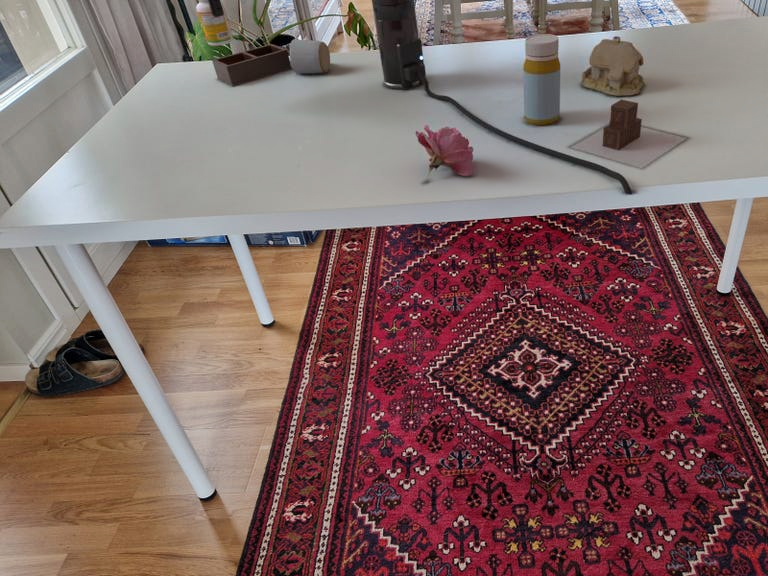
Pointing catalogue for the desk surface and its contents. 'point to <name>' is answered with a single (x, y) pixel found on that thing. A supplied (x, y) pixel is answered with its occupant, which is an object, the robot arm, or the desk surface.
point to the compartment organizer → (252, 64)
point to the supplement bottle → (214, 25)
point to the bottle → (541, 79)
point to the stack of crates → (628, 138)
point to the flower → (447, 149)
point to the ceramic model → (614, 68)
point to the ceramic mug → (309, 56)
